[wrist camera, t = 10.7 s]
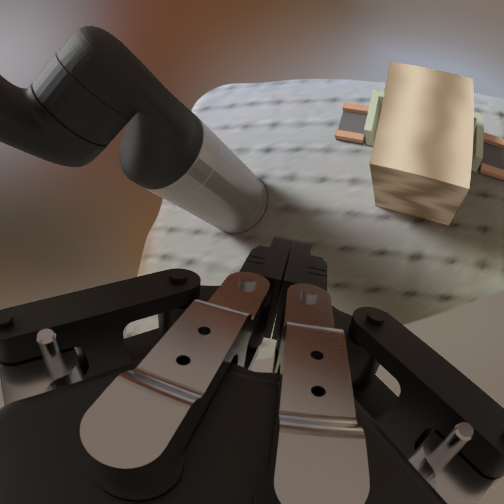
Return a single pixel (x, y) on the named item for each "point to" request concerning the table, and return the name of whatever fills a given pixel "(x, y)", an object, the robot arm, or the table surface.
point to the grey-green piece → (366, 123)
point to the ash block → (424, 143)
